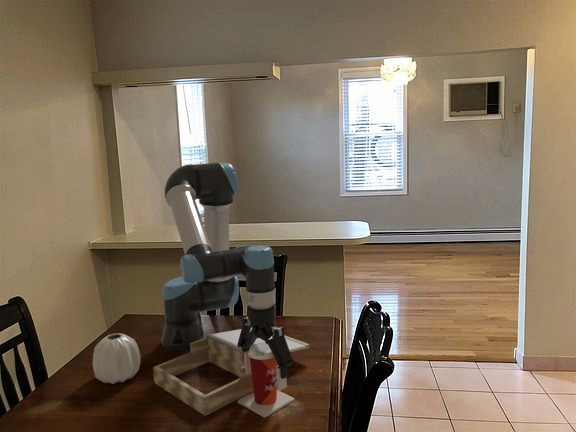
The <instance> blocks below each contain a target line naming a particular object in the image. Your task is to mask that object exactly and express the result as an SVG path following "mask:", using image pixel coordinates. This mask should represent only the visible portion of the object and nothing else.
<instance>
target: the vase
mask: <svg viewBox="0 0 576 432" xmlns="http://www.w3.org/2000/svg"><path fill="white" fill-rule="evenodd" d="M92 354H93V356H92V369H93V372H94V377H95V378H96V379H97V380H99V381H100V382H102V383H104V384H112V385H115V384H118V383H124V382H126V380H130V379H132V378H133V377H134V376H135V375H136V374H137V373H138V372H139V370H140V365H141V361H142V360H141V353H140V349H139V346H138V343H137V342H136V340H135V339H134V338H132V337H131V336H128V335H127V334H125V333H119V332H118V333H112V334H108V335H107V336H105V337H103V338H102V339H101V340H99V342H98V343H96V345H95V346H94V349H93V353H92Z"/></svg>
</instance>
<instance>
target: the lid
mask: <svg viewBox="0 0 576 432" xmlns="http://www.w3.org/2000/svg"><path fill="white" fill-rule="evenodd" d="M241 329H242V328H240V329H235V330H228V331H223V332H217V333H206V337H207V338H210V339H212V340H214V341H216V342H219V343H221V344H223V345H225V346H228V347H230V348H232V349H234V350H237V351H239V352H241V353H243V351H242V348H241V347H238V346H237V344H238V340H239V337H240V333H241ZM251 330H252V327H251ZM251 330H250V332H251ZM284 336H285V339H286V342H287V345H288V348H289V351H290V353H291V352H296V351H301V350H307V349H310V343H307V342H304V341H301V340H298V339H296V338H293V337H290V336H287V335H285V334H284ZM272 338H273V337H272V336H271V338H270V339H272ZM261 342H265V341H264V340H262V339H261V338H257V339H256V341H255V342H254V344H256V343H261Z"/></svg>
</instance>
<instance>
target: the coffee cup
mask: <svg viewBox="0 0 576 432" xmlns="http://www.w3.org/2000/svg"><path fill="white" fill-rule="evenodd" d="M248 355H249V356H250V365H251V374H252V382H253V392H254V398H255V402H256V403H257V404H259V405H270V404H273V403H274V402H275V401H276V398H277V371H276V367H277V366H278V364H277V362H276V360H275V358H274V356H273V354H272V352H271V350H270V348H269V346H268V344H266V343H265V342H261V343H256V344H253V345H252V346H251V347H250V349H249V352H248Z"/></svg>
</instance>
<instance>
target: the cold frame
mask: <svg viewBox="0 0 576 432" xmlns="http://www.w3.org/2000/svg"><path fill="white" fill-rule="evenodd" d="M189 350H190V351H189V352H188V353H186V354H185V353H184V354H182V355H180V356H178V357H175V358H173V359H170V360H168V361H166V362H165V361H164V362H163V363H160V364H158V365H155V366H153V367H152V370H153V372H152V373H153V382H154V384H156V385H157V386H158V387H160V388H161V389H163V390H165V391H166V392H168V393H169V394H171V395H172V396H174V397H175V398H176V399H178V400H180V401H181V402H183V403H185V404H186V405H187V406H189V407H191V408H193V409H194V410H195V411H197V412H199V413H200V414H202V415H203V416H205V417H207V416H208V415H210V414H212V413H215V412H216V411H217V410H221V409H222V408H223V407H226V406H228V405H230V404H231V403H233V402H236V401H238V400H239V399H241V398H243V397H245V396H247V395H249V394H251V393H253V392H254V391H253V382H252V374H251V373H250V374H248V375H246V374H245V361H244V358H243V353H241V352H239V351H237V350H234V349H232V348H230V347H228V346H225V345H223V344H221V343H219V342H216V341H214V340H212V339H210V338H207V336H204V338H203V339H200V340H197V341H195V342H192V343H190V349H189ZM209 362H210V363H211V364H213V365H215V366H217V367H220V368H221V369H223V370H224V371H227V372H230V373H231V374H232V375H234V376H237V377H238V378H237V379H235V380H233V381H231V382H228V383H227V384H224V385H223V386H220V387H218V388H216V389H214V390H212V391H209V393H207V394H205V393H203V392H201V391H199V390H198V389H196V388H195V387H193V386H191V385H189V384H188V383H186V382H185V381H183V380H181V379H180V378H178V377H176V376H179V375H181V374H184V373H186V372H188V371H190V370H193V369H195V368H197V367H200V366H202V365H205V364H207V363H209Z"/></svg>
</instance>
